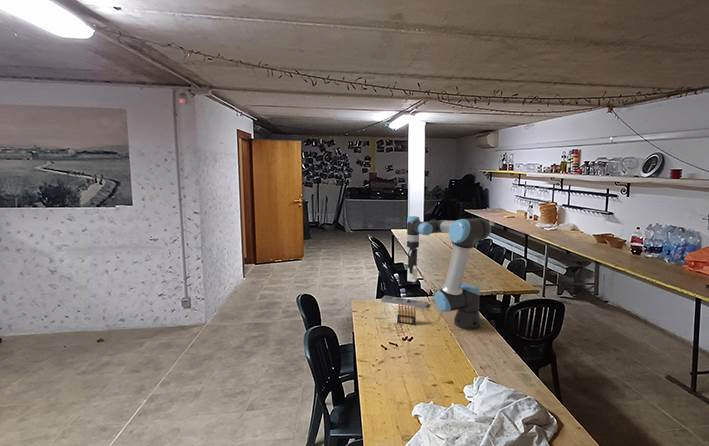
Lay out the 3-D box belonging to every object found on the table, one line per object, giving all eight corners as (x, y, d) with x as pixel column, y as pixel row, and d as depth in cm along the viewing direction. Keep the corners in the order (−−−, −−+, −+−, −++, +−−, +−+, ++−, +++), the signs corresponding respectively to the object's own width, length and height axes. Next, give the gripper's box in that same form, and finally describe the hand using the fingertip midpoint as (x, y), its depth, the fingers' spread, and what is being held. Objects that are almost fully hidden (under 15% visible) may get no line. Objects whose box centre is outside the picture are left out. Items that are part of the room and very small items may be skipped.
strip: (447, 309, 249) (447, 303, 248) (445, 313, 242) (445, 307, 242) (384, 299, 265) (384, 294, 265) (381, 303, 259) (381, 298, 259)
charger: (416, 279, 252) (417, 267, 251) (415, 281, 248) (415, 269, 247) (409, 279, 254) (409, 266, 253) (407, 280, 250) (407, 268, 249)
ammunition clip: (416, 324, 226) (416, 304, 224) (415, 325, 224) (415, 305, 222) (397, 321, 229) (398, 302, 228) (397, 323, 228) (397, 303, 226)
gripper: (411, 237, 257) (410, 272, 260) (403, 243, 241) (402, 279, 245) (422, 238, 254) (421, 273, 257) (414, 244, 238) (414, 281, 242)
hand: (412, 276), depth 251 cm, fingers closed on charger, 4 cm apart
